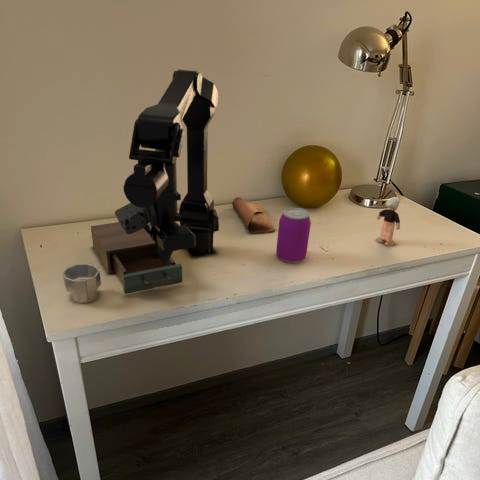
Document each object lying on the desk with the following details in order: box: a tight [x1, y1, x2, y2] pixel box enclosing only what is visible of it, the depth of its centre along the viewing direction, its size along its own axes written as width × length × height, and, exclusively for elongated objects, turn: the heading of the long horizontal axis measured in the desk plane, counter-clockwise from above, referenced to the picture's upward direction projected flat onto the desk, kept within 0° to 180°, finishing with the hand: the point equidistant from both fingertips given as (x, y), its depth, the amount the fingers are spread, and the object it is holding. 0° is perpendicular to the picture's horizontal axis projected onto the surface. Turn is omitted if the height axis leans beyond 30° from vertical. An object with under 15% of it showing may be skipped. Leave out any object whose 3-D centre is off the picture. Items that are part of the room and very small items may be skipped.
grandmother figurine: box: [376, 196, 401, 246], centre depth 135 cm, size 8×4×13 cm, turn 47°
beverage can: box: [275, 207, 312, 264], centre depth 125 cm, size 8×8×12 cm
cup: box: [62, 263, 102, 304], centre depth 107 cm, size 7×8×6 cm
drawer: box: [110, 246, 183, 295], centre depth 114 cm, size 17×13×4 cm
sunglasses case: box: [231, 196, 275, 234], centre depth 145 cm, size 18×7×7 cm
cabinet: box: [90, 221, 156, 275], centre depth 123 cm, size 14×14×6 cm
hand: (164, 262), depth 101 cm, fingers closed
